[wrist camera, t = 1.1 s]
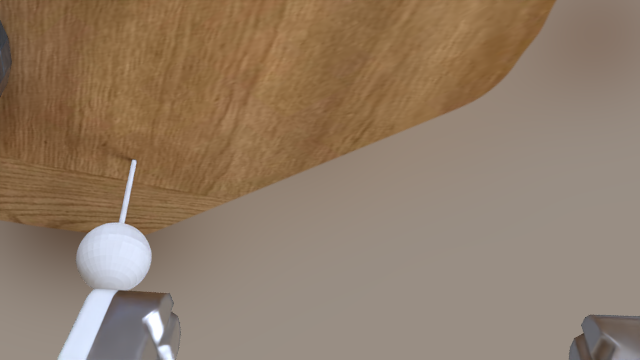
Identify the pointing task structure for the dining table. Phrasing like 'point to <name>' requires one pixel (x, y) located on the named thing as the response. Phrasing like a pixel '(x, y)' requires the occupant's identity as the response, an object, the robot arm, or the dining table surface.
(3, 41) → the bowl
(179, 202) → the dining table surface
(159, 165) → the dining table surface
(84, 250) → the lollipop
